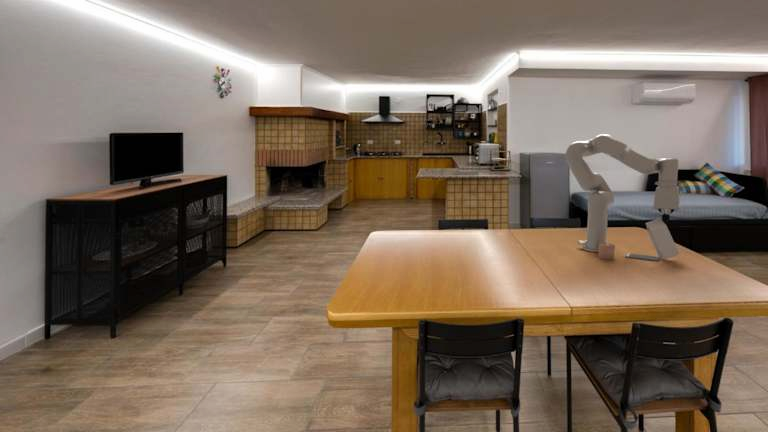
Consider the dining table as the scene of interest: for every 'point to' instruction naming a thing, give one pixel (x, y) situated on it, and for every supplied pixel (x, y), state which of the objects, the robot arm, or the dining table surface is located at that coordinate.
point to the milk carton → (662, 239)
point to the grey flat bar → (642, 257)
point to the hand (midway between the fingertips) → (665, 222)
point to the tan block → (606, 251)
